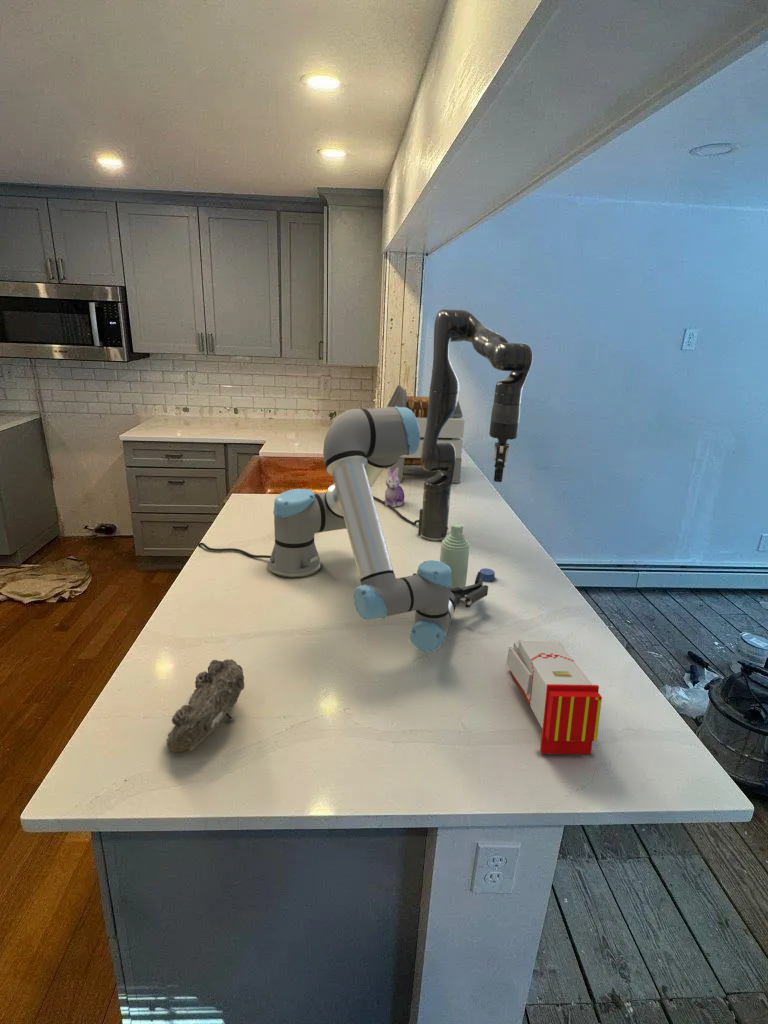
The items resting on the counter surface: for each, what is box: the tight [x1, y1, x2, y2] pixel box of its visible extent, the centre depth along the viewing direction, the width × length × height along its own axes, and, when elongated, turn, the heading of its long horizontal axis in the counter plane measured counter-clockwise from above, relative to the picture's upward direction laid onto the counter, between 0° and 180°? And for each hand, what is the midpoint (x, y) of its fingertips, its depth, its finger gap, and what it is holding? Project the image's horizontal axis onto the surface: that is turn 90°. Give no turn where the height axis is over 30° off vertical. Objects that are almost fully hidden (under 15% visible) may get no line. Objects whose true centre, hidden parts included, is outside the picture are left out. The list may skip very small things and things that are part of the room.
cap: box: [479, 567, 496, 582], centre depth 169 cm, size 4×4×2 cm
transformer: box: [386, 384, 465, 484], centre depth 268 cm, size 34×33×41 cm
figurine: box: [383, 467, 405, 508], centre depth 227 cm, size 9×10×15 cm
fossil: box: [166, 658, 245, 754], centre depth 106 cm, size 22×10×15 cm
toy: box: [506, 640, 603, 755], centre depth 114 cm, size 12×13×30 cm
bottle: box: [439, 522, 471, 589], centre depth 155 cm, size 8×8×21 cm
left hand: (454, 572), depth 158 cm, fingers open, 13 cm apart
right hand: (498, 477), depth 159 cm, fingers open, 8 cm apart
